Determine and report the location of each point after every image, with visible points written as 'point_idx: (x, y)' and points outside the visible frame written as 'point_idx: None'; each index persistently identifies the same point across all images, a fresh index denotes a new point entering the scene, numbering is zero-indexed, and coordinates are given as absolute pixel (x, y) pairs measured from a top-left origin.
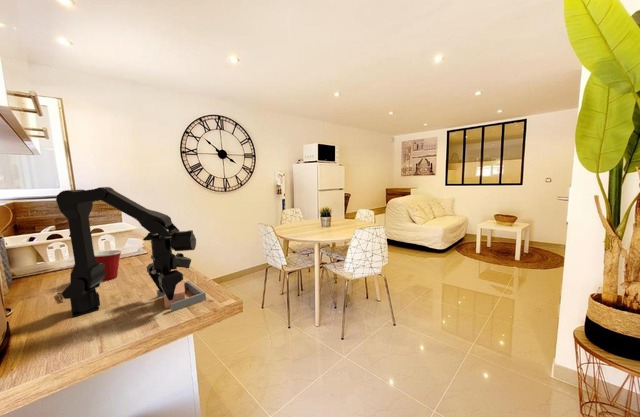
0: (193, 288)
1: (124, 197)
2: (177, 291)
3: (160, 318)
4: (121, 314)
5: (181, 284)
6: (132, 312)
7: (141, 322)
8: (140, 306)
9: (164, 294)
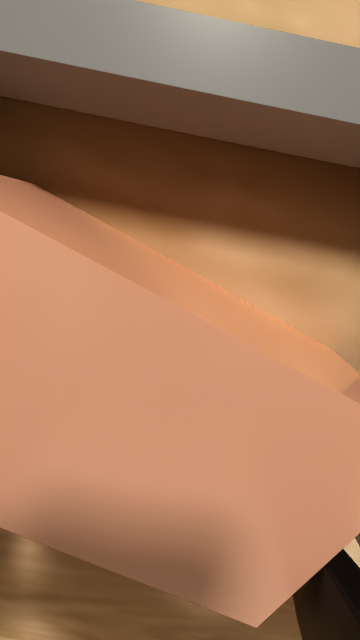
0: (171, 98)
1: None
2: (292, 489)
3: (356, 554)
4: (54, 621)
5: (8, 280)
6: (82, 590)
7: (281, 614)
8: (22, 539)
9: (205, 604)
